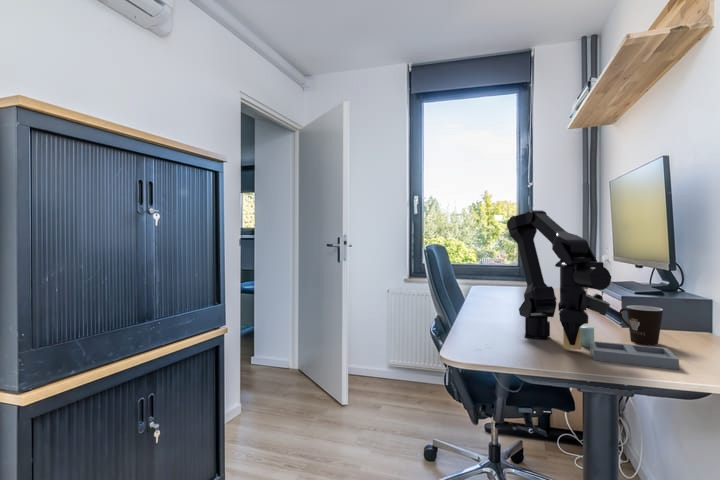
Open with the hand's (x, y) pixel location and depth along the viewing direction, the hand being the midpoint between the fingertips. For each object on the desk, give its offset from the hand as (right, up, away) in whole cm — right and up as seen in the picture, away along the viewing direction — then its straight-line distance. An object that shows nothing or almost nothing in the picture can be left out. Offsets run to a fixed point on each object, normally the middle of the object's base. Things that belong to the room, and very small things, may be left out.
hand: (572, 342), depth 105 cm
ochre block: (0, -1, 0) cm, 1 cm away
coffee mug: (+26, -2, +10) cm, 28 cm away
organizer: (+11, -2, -7) cm, 13 cm away
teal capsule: (+7, -2, +6) cm, 10 cm away
